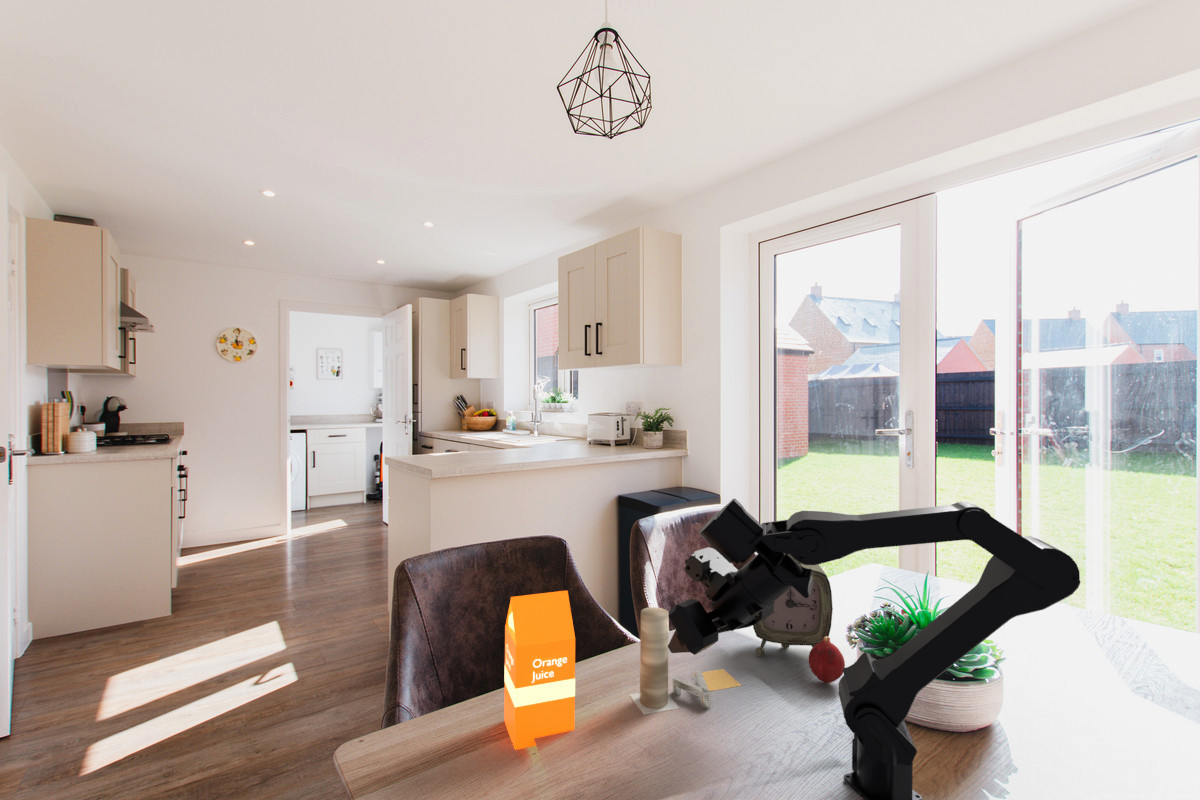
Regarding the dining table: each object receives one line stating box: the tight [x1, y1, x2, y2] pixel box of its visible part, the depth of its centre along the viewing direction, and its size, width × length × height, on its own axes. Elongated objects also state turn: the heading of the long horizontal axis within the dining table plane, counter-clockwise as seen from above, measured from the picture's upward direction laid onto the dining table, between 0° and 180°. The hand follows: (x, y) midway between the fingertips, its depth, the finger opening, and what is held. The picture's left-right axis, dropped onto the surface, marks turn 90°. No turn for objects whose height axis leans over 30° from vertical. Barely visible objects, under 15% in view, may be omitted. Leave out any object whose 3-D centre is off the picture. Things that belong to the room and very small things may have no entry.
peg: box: [639, 606, 670, 709], centre depth 89 cm, size 4×4×14 cm
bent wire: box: [671, 669, 712, 711], centre depth 90 cm, size 7×6×2 cm
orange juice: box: [503, 590, 576, 751], centre depth 83 cm, size 8×9×20 cm
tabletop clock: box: [752, 554, 834, 657], centre depth 109 cm, size 14×9×25 cm, turn 80°
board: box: [628, 668, 742, 716], centre depth 90 cm, size 14×20×1 cm
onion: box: [807, 636, 846, 685], centre depth 97 cm, size 6×6×8 cm
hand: (689, 640), depth 84 cm, fingers open, 9 cm apart
